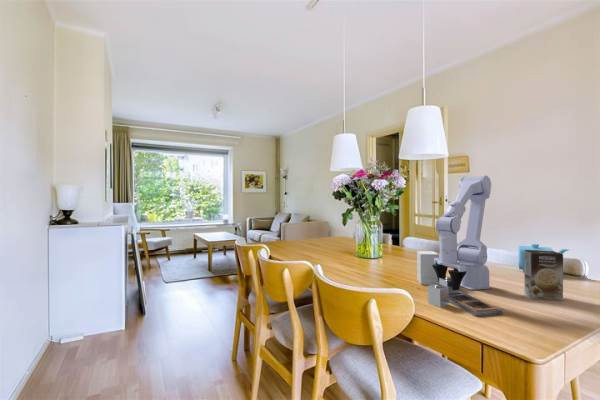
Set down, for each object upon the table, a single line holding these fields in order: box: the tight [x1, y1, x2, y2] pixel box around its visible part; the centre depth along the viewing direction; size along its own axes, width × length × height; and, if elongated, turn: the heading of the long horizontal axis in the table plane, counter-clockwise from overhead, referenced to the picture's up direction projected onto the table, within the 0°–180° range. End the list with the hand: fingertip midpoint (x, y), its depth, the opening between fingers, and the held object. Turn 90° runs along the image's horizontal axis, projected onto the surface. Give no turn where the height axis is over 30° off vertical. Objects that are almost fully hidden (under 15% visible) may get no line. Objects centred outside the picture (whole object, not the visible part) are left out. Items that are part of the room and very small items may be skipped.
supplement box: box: [416, 250, 440, 286], centre depth 123 cm, size 7×7×13 cm
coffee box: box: [523, 250, 564, 302], centre depth 103 cm, size 9×6×16 cm
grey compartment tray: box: [449, 290, 503, 317], centre depth 100 cm, size 9×23×2 cm, turn 9°
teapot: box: [517, 243, 569, 274], centre depth 135 cm, size 18×16×13 cm
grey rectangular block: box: [439, 276, 460, 295], centre depth 107 cm, size 4×4×6 cm
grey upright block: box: [427, 284, 450, 309], centre depth 99 cm, size 4×4×6 cm
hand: (448, 286), depth 107 cm, fingers open, 7 cm apart
